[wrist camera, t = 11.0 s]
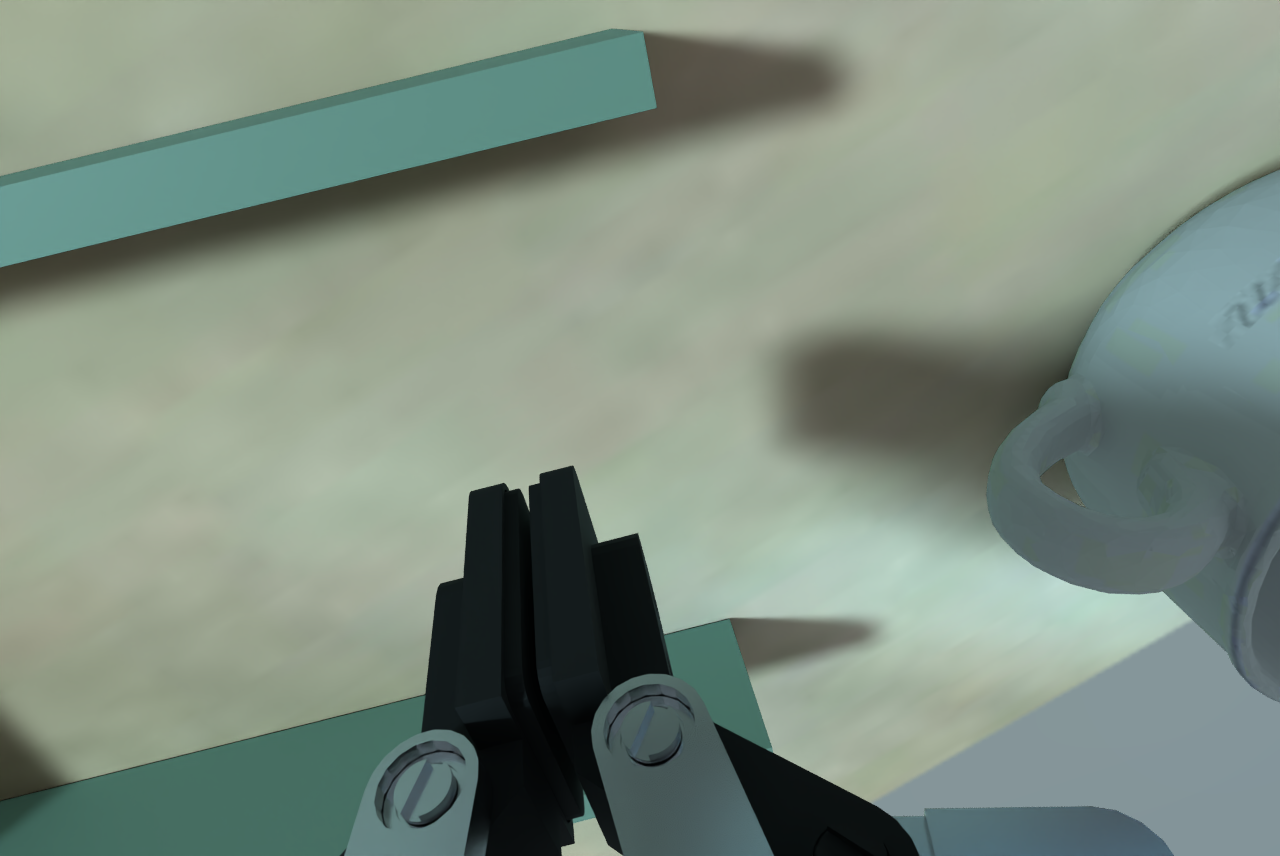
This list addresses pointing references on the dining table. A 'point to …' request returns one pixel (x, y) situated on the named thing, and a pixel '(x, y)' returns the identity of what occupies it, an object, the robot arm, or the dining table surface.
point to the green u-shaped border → (251, 175)
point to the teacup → (1170, 437)
